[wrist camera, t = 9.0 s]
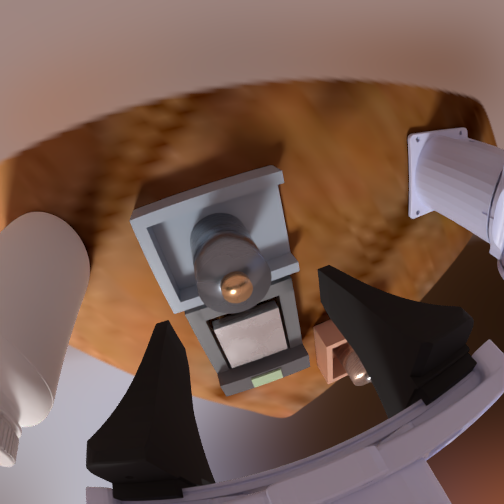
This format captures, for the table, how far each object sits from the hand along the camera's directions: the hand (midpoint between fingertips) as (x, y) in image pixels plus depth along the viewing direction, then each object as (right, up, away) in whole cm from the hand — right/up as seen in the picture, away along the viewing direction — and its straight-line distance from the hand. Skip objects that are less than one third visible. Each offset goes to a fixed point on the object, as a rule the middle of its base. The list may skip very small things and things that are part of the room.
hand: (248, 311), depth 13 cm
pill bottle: (-15, +2, +4) cm, 16 cm away
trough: (-2, +4, +7) cm, 8 cm away
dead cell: (+10, -7, +16) cm, 20 cm away
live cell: (-2, +4, +7) cm, 8 cm away
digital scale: (0, -4, +12) cm, 13 cm away
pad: (0, -4, +11) cm, 11 cm away
